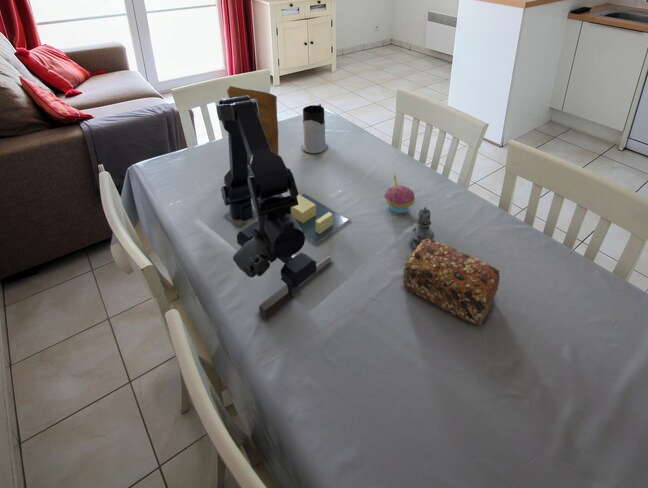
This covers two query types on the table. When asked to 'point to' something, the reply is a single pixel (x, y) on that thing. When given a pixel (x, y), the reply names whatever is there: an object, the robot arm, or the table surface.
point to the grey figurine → (422, 228)
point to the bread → (451, 280)
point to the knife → (282, 296)
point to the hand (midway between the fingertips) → (277, 282)
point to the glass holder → (314, 129)
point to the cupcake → (399, 197)
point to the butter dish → (321, 210)
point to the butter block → (303, 209)
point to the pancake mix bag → (262, 112)
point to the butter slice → (324, 222)
